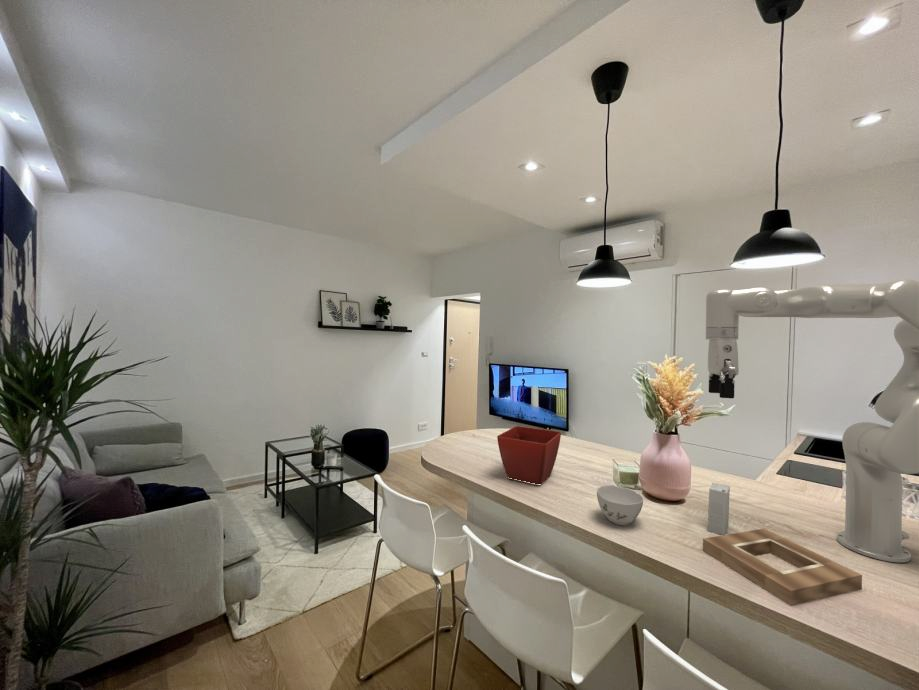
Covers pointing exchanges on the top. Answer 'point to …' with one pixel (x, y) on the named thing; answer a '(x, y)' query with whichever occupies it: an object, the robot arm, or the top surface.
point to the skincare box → (718, 508)
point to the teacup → (619, 503)
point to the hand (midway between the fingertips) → (720, 395)
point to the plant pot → (529, 453)
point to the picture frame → (790, 586)
